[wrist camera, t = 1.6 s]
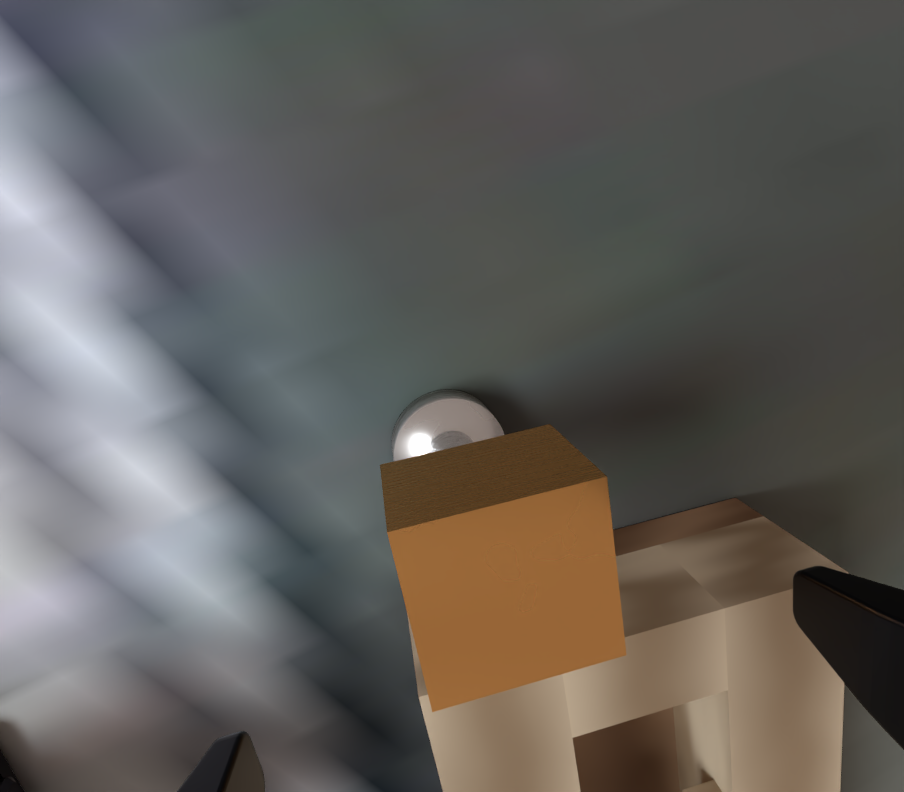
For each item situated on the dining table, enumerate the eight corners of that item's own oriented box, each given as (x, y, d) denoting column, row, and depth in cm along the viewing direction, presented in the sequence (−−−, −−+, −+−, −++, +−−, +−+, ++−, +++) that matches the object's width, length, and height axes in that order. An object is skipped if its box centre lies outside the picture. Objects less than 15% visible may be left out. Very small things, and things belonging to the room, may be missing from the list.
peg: (399, 508, 18) (432, 712, 10) (373, 399, 17) (387, 532, 9) (511, 480, 19) (626, 654, 11) (493, 371, 18) (606, 476, 10)
